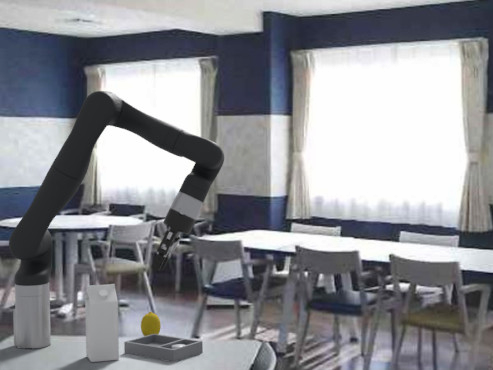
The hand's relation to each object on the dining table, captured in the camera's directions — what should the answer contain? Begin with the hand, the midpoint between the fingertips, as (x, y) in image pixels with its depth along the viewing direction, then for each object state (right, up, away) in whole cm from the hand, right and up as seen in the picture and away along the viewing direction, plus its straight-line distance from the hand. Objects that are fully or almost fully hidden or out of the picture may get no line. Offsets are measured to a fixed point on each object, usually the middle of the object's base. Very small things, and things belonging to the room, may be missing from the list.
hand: (156, 269), depth 215 cm
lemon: (-4, -22, +18) cm, 29 cm away
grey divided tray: (+1, -22, +3) cm, 23 cm away
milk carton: (-14, -23, -2) cm, 27 cm away
